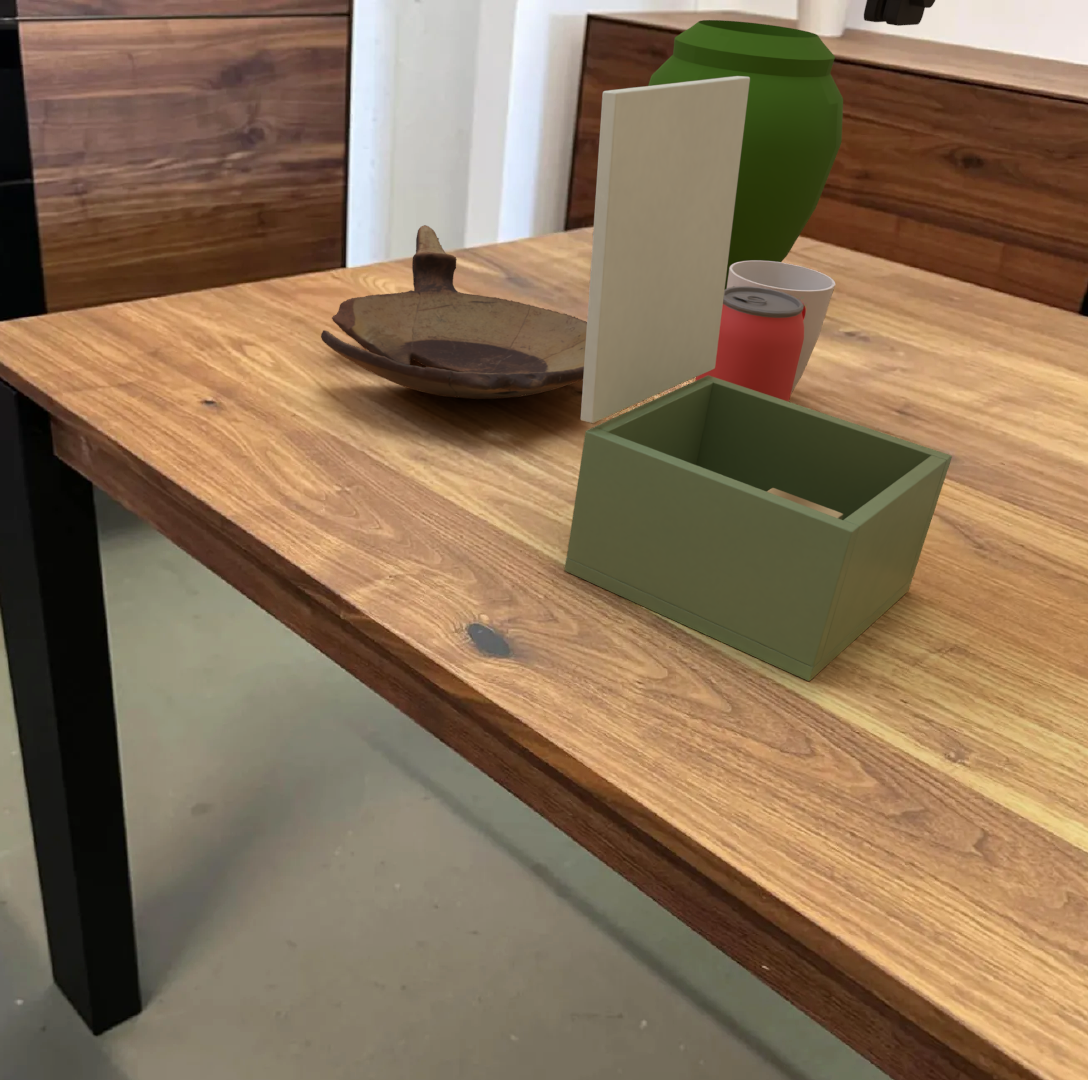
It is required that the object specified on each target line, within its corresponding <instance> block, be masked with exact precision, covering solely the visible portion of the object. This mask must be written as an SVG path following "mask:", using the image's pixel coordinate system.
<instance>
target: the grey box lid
mask: <svg viewBox="0 0 1088 1080" xmlns="http://www.w3.org/2000/svg"><path fill="white" fill-rule="evenodd" d="M749 82H750V77H744V76H734V77H725V78H716V79H707V80H698V81H689V82H680V83H671V84H662V85H653V86H648V85H646V86H637V87H636V86H635V87H627V88H619V89H609V90H604V91H602V98H601V111H600V128H599V130H600V131H599V139H598V140H599V141H598V142H599V143H598V154H597V155H598V157H597V172H596V186H595V200H594V215H593V228H592V229H593V232H592V245H591V258H590V261H591V262H590V273H589V289H588V290H589V291H588V303H587V304H588V305H587V319H586V322H587V332H586V347H585V362H584V376H583V380H582V392H581V393H582V394H581V408H580V421H582V422H585V423H589V424H595V423H597V422H599V421H601V420H603V419H605V418H608V417H610V416H612V415H614V414H617V413H619V412H621V411H624V410H626V409H628V408H630V407H632V406H635V405H637V404H640V403H641V402H643V401H646V400H648V399H650V398H653V397H655V396H657V395H659V394H662V393H664V392H666V391H668V390H670V389H673V388H675V387H677V386H679V385H681V384H684V383H687V382H688V381H690V380H692V379H696V377H697V376H699V375H702V374H704V373H706V372H708V371H711V370H713V369H715V364H716V356H717V347H718V339H719V331H720V322H721V314H722V306H723V298H724V289H725V281H726V273H727V264H728V256H729V248H730V240H731V231H732V223H733V215H734V206H735V198H736V190H737V182H738V173H739V165H740V157H741V149H742V140H743V132H744V124H745V115H746V107H747V99H748V91H749Z"/></svg>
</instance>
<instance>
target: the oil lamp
mask: <svg viewBox="0 0 1088 1080" xmlns="http://www.w3.org/2000/svg"><path fill="white" fill-rule="evenodd" d="M439 239H440V238H439V237H438V236H437V234H436V231H435V230H434V229H433V228H432V227H430V226H429V225H426V224H423V225H422V226H420V227H419V228H418V229H417V233H416V237H415V254H414V255H413V256H412V260H411V261H412V262H411V263H412V264H411V265H412V267H411V270H412V271H411V272H412V280H413V283H412V285H413V290H412V289H411V290H408V291H401V292H395V293H393V292H392V293H382V294H380V293H378V294H370V295H365V296H357V297H351V298H349V299H346V300H344V301H342V302H341V303H340V304H339V307H338V311H337V312H336V314H333V316H332V317H331V320H332V321H333V322H334V324H336V325H337V327H339V329H340V330H342V332H344V333H345V334H346V335H347V336H348V337H349V338H351V339H353V340H354V341H355V342H356V343H357V344H358V345H360V347H358V346H356V345H352V344H350V343H347V342H345V341H343V340H341V339H340V338H338V337H336V336H335V335H334V334H333V333H331V332H330V331H328V330H325V329H324V330H323V329H322V332H321V333H320V338H321V341H322V342H323V343H324V344H325V345H326V346H328V347H329V348H330V349H332V350H333V351H334V352H336V353H337V354H339V355H340V356H342V357H344V358H345V359H346V360H348V361H350V362H352V363H354V364H355V365H356V366H359V367H361V368H362V369H365V370H366V371H368V372H370V373H372V374H374V375H377V376H379V377H381V378H383V379H385V380H387V381H389V382H392V383H394V384H396V385H399V386H402V387H404V388H408V389H411V390H414V391H418V392H420V393H421V392H422V393H424V394H429V395H435V396H439V397H450V398H457V399H458V398H459V399H471V400H489V399H490V400H492V399H495V400H496V399H508V398H516V397H517V398H519V397H526V396H531V395H536V394H542V393H545V392H549V391H553V390H556V389H561V388H563V387H565V386H568V385H571V384H574V383H578V382H580V381H583V376H584V362H585V347H586V332H587V320H583V319H580V318H578V317H576V316H573V315H571V314H567V313H563V312H562V313H561V312H559V311H556V310H552V309H549V308H545V307H538V306H537V305H536V306H535V305H531V304H527V303H523V302H520V301H514V300H510V299H509V300H508V299H506V298H500V297H496V296H495V297H494V296H485V295H479V294H471V293H465V292H460V291H458V290H457V289H456V287H455V286H454V274H455V271H456V269H457V260H458V259H457V257H456V256H455V255H453V254H450V253H446V251H445V249H444V248H443V246H442V244H441V243H440V240H439ZM361 347H362V348H363V349H362V348H361ZM411 360H412V361H415V362H417V363H419V364H421V365H422V366H423V367H422V366H418V365H411Z"/></svg>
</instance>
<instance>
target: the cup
mask: <svg viewBox="0 0 1088 1080" xmlns="http://www.w3.org/2000/svg"><path fill="white" fill-rule="evenodd" d="M737 286H750V287H761V288H767V289H772V290H776V291H780V292H784V293H787V294H789V295H792V296H794V297H796V298H797V299H799V300H800V301H801V302H802V303H803V305H804V307H803V311H802V316H803V323H804V340H803V345H802V349H801V353H800V357H799V361H798V366H797V370H796V374H795V378H794V382H793V387H792V391H791V394H793V392H794V390H795V388H796V387H797V385H798V383H799V382H800V380H801V378H802V377H803V375H804V372H805V369H806V368H807V365H808V362H809V360H810V359H811V356H812V354H813V351H814V349H815V347H816V344H817V342H818V339H819V337H820V334H821V331H822V328H823V325H824V322H825V318H826V315H827V312H828V309H829V306H830V303H831V299H832V296H833V293H834V289H835V286H836V282H835V280H834V279H833V278H832V277H831V276H829V275H827V274H825V273H823V272H820V271H818V270H816V269H812V268H809V267H805V266H803V265H797V264H793V263H788V262H773V261H741V262H737V263H734V264H732V265H731V266H730V268H729V275H728V282H727V288H730V287H737Z"/></svg>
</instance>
